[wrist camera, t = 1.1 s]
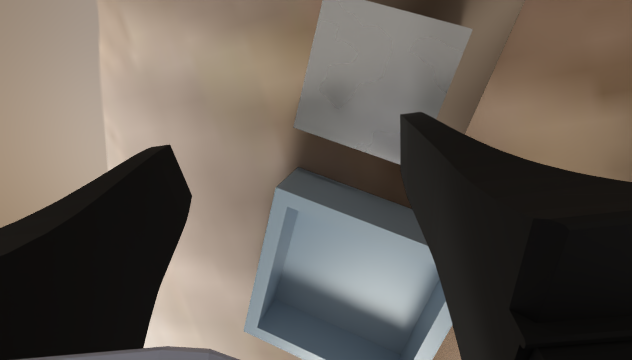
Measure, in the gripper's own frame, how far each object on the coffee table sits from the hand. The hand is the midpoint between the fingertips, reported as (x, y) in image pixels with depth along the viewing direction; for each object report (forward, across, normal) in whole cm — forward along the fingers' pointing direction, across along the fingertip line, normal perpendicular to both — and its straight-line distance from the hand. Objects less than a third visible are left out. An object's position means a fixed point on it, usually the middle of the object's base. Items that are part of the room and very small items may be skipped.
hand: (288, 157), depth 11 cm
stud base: (+12, -6, +2) cm, 13 cm away
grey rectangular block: (+11, -6, +1) cm, 12 cm away
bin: (+9, -2, +16) cm, 18 cm away
